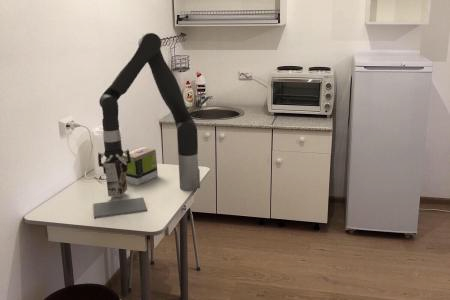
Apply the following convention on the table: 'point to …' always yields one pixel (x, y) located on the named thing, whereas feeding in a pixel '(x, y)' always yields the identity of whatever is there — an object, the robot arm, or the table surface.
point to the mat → (119, 207)
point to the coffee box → (115, 178)
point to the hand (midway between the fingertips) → (115, 173)
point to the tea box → (141, 165)
